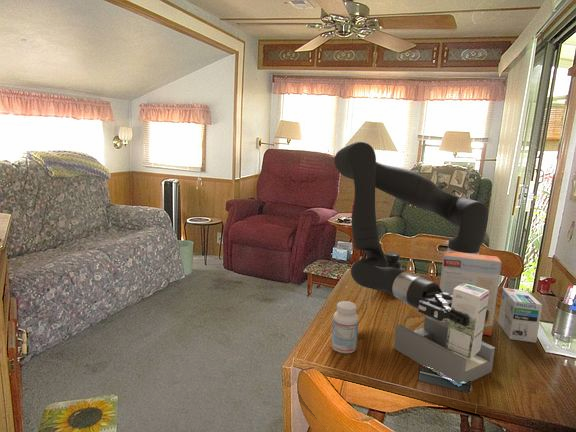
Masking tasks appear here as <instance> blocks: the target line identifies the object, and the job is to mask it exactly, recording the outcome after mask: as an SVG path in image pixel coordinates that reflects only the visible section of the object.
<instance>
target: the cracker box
mask: <svg viewBox="0 0 576 432" xmlns="http://www.w3.org/2000/svg"><path fill="white" fill-rule="evenodd" d="M501 267H502V261H501V259H500V258H499V256H495V255H487V254H486V255H485V254H480V253H479V254H470V253H461V252H453V251H447V250H444V251H443V255H442V265H441V271H440V272H441V274H440V280H439V281H440V282H439V287H440V289H441V291H442V292H445V293H449V294H451V295H453V290H454V288H455V287H457V286H458V285H460V284H462V283H466V284H469V285H473V286H476V287H479V288H483V289H486V290H489V298H488V304H487V310H488V311H489V315H488V319H486V320H485V322H484V328H483V334H482V336H483V335H484V336H489V337H490V336H492V332H493V326H494V319H495V318H494V317H495V311H496V303H497V296H498V289H499V284H500V277H501V269H502V268H501ZM436 315H438V314H437V313H436ZM441 322H443V323H445V324H447V325H449V320H445V319H443V321H441Z"/></svg>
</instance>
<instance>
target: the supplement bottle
mask: <svg viewBox="0 0 576 432" xmlns="http://www.w3.org/2000/svg"><path fill="white" fill-rule="evenodd" d="M384 256H385V258H386V261H387V264H388V267H394V268H397V269H400V270H402V266H403V264H402V262H401V261H400V259H401V254H400V253H398V252H397V251H396V252H395V251H386V252H385V253H384Z"/></svg>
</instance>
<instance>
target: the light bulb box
mask: <svg viewBox="0 0 576 432" xmlns="http://www.w3.org/2000/svg"><path fill="white" fill-rule="evenodd" d="M542 310H543V304H542V303H541V302H540V301H539V300H537V299H536V298H535V297H534V296H533V295H532V294H531V293H530V292H529V291H528V290H523V289H514V288H507V287H503V288H502V294H501V301H500V309H499V314H498V320H497V323H498V324H499V325H500V327H501V329H502V330H503V332H504V333H505V335H506V336H507V338H508V339H509V340H513V341H521V342H527V343H529V342H530V343H537V339H538V334H539V333H538V332H539V327H540V322H541V315H542Z"/></svg>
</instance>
